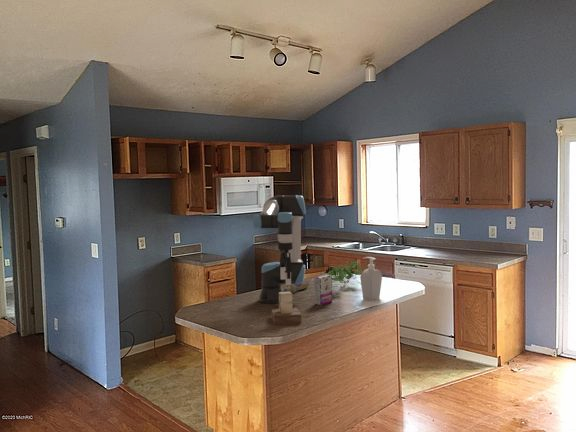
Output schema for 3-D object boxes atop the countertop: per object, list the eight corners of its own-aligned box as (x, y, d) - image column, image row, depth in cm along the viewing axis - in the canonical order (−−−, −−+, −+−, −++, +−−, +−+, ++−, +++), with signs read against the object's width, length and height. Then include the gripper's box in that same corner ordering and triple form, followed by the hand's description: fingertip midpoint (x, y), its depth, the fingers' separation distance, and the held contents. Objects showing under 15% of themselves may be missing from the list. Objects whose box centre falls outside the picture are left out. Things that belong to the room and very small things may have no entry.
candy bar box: (325, 300, 311) (325, 274, 310) (332, 302, 307) (332, 275, 306) (314, 304, 303) (314, 277, 301) (320, 305, 299) (320, 278, 298)
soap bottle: (367, 295, 323) (368, 255, 321) (382, 297, 317) (382, 256, 315) (357, 299, 314) (357, 257, 312) (372, 301, 307) (372, 259, 305)
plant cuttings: (366, 295, 352) (343, 273, 361) (379, 277, 345) (356, 256, 354) (340, 306, 324) (316, 282, 333) (355, 287, 317) (330, 263, 326)
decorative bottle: (299, 287, 350) (299, 277, 349) (309, 288, 346) (309, 279, 345) (278, 294, 328) (278, 284, 328) (288, 296, 324) (288, 286, 324)
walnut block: (271, 318, 276) (271, 309, 275) (296, 316, 278) (296, 307, 277) (274, 325, 262) (274, 316, 261) (301, 324, 264) (301, 314, 264)
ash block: (279, 310, 272) (278, 292, 271) (290, 310, 273) (289, 291, 272) (281, 313, 266) (281, 294, 265) (292, 312, 267) (292, 293, 266)
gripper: (273, 239, 278) (274, 277, 280) (282, 245, 254) (283, 287, 256) (287, 238, 279) (287, 276, 281) (297, 245, 255) (298, 286, 257)
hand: (285, 282), depth 268 cm, fingers open, 13 cm apart
